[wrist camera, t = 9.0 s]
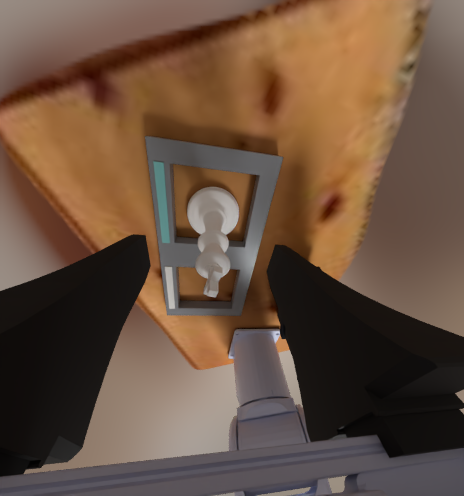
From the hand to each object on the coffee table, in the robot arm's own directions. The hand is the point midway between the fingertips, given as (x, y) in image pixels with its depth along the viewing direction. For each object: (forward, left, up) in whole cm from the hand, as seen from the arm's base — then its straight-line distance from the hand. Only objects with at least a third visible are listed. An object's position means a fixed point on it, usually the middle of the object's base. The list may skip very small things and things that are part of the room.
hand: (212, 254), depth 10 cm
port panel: (-5, 0, -8) cm, 9 cm away
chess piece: (0, 0, -8) cm, 8 cm away
